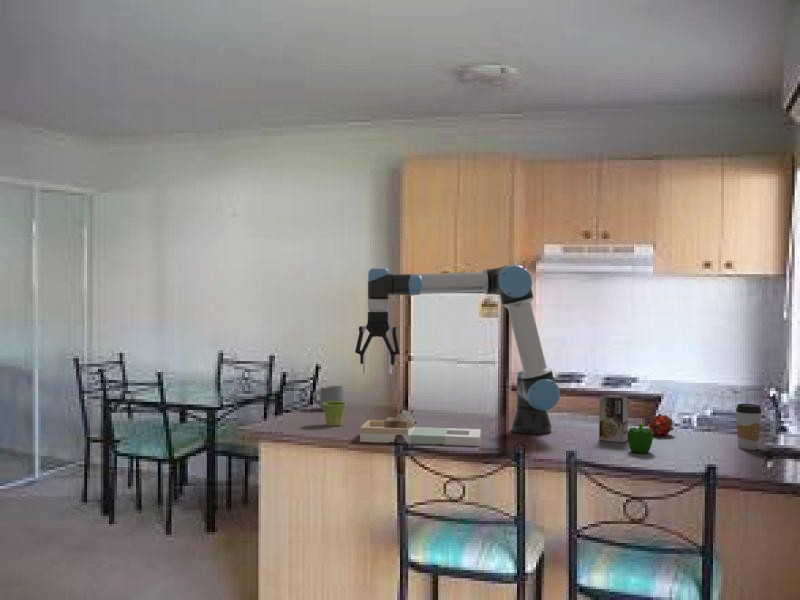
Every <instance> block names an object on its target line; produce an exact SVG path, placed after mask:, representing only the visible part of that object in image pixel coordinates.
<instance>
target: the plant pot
mask: <svg viewBox="0 0 800 600" xmlns="http://www.w3.org/2000/svg"><path fill="white" fill-rule="evenodd" d="M322 404H323V406H324V409H325V411H324V416H325V421H326V422H325V425H326V426H328V427H337V426H342V425H343V420H344V412H345V408H346V405H347V402H344V401H343V402H324V403H322Z"/></svg>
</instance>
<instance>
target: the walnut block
mask: <svg viewBox="0 0 800 600" xmlns="http://www.w3.org/2000/svg"><path fill="white" fill-rule="evenodd" d="M383 421H384V428H405V429H409V418H398V417H396V416H393V417H390V416H387V417H386V418H385V420H383Z"/></svg>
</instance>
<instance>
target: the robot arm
mask: <svg viewBox="0 0 800 600" xmlns="http://www.w3.org/2000/svg"><path fill="white" fill-rule="evenodd" d="M367 277H368V278H367V310H368V312H367V323H366V325H361V326H358V332H359V334H358V337H357V341H356V342H357V343H356V346H355V350H354V352H355V354H358V355H359V357H360V358H359V359H360V360H359V363H360V365H362V374H367V354H366V351H367V349H368V348H369V345H370V344H371V341H372V339H373V338H374V337H375V338H376V337H378V338H382V339H383V341H384V343H385V345H386V348H387V349H388V351H389V354H390V355H388V375H392V370H393V365H395V363H396V362H395V361H396V357H395V356H396V355H400V352H401V350H400V345H399V340H398V336H397V335H398V334H397V332H398V331H397V330H398V328H397V326H390V324H389V312H388V310H389V298H390V297H389V295H391V296H393V295H397V296H419V295H426V294H427V295H428V294H430V295H431V294H454V293H455V294H458V293H460V294H461V293H483V294H485V295H496V296H499V297H500V301H501V304H502V306H504V308H506V309H507V311H508V315H509V318H510V324H511V328H512V331H513V335H514V338H515V344H516V347H517V350H518V351H517V352H518V354H519V358H520V359H519V360H520V362H521V363H520V364H521V366H522V367H521V368H522V371H518V373H517V375H516V410H515V414H514V416H513V417H514V418H513V420H512V423H511V431H512V432H514V433H515V432H516V433H519V434H526V435H545V434H549V433H551V432H552V429H553V428H552V422H551V420H550V417H549V413H548V410H551V409H553V408H554V407H556V406H557V404H558V403H559V401H560V399H561V391H560V387H559V385H558V384H557V382H555V377H554V374H553V369H551V368H550V367H549V366H547V363H546V359H545V355H544V351H543V348H542V343H541V339H540V336H539V331H538V327H537V323H536V319H535V315H534V310H533V307H532V301H533V299H534V294H533V293H534V292H533V290H532V289H533V288H532V286H533V278H532V274H531V273H530V271H528V269H527V268H525V267H523V266H521V265H519V264H508V265H504V266H501V267H495V268H485V269H483V270H482V271H478V272H477V271H475V272H474V271H473V272H472V271H471V272H446V273H443V272H442V273H420V274H419V273H417V274H415V273H410V274H409V273H408V274H407V273H400V274H398V273H397V274H396V273H395V274H394V273H390V271H389V269H388V268H378V267H377V268H376V267H375V268H370V269H369V270H368V275H367ZM366 330H367V331H368V333H369V334H368V336H367V338H366V340H365V343H364V344H363V345H362V342H363V338H364V334H365V332H366ZM388 331H390V333H391V336H392V341H393V344H394V347H393V346H392V344H391V341H390V340H389V337H388V335H387V333H388ZM361 347H362V349H361ZM394 349H395V350H394Z"/></svg>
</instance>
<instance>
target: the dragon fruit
mask: <svg viewBox="0 0 800 600" xmlns="http://www.w3.org/2000/svg"><path fill="white" fill-rule="evenodd" d="M647 425H648V427H649V428H648V429H651V431H652V433H653V437H658V436H657V435H659V436H661V435H662V434H663V436H664V435H665V436H664V437H667V436H668V435H670V432H671V431H674V427H673V419H672V418H670V417H669V416H668V415H665V414H664V415H663V414H661V413H658V414H657V415H655V416H652V417H651V419H650V420H649V422H648V424H647ZM666 435H667V436H666Z"/></svg>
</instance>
